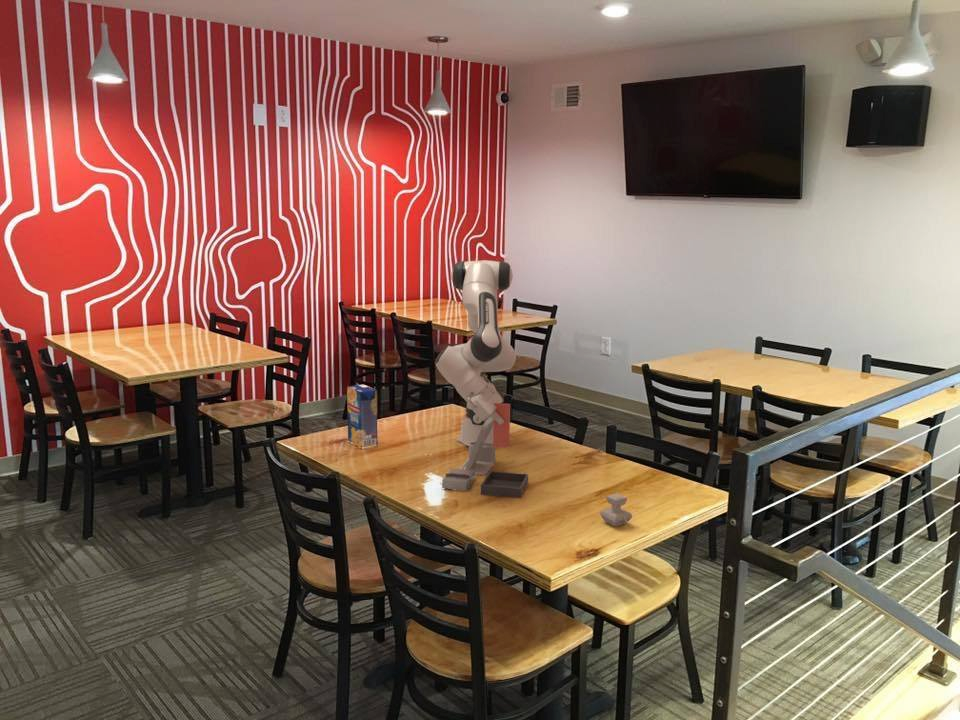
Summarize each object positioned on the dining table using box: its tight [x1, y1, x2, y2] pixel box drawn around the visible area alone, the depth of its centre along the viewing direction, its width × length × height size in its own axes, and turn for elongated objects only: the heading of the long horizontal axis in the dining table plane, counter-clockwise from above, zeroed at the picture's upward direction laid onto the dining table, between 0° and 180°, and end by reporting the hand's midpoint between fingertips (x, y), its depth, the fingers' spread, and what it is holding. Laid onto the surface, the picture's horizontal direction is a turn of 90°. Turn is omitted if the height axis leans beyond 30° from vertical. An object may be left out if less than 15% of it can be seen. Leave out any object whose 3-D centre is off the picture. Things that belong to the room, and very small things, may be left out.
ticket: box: [493, 402, 511, 448], centre depth 247 cm, size 1×5×14 cm, turn 77°
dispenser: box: [441, 467, 476, 492], centre depth 255 cm, size 12×8×4 cm, turn 167°
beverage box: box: [346, 383, 378, 448], centre depth 293 cm, size 7×11×22 cm, turn 36°
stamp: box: [599, 493, 633, 527], centre depth 224 cm, size 9×7×8 cm
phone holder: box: [459, 417, 497, 477], centre depth 270 cm, size 17×10×18 cm, turn 166°
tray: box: [480, 470, 529, 499], centre depth 251 cm, size 14×13×3 cm
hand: (503, 421), depth 247 cm, fingers closed on ticket, 1 cm apart
